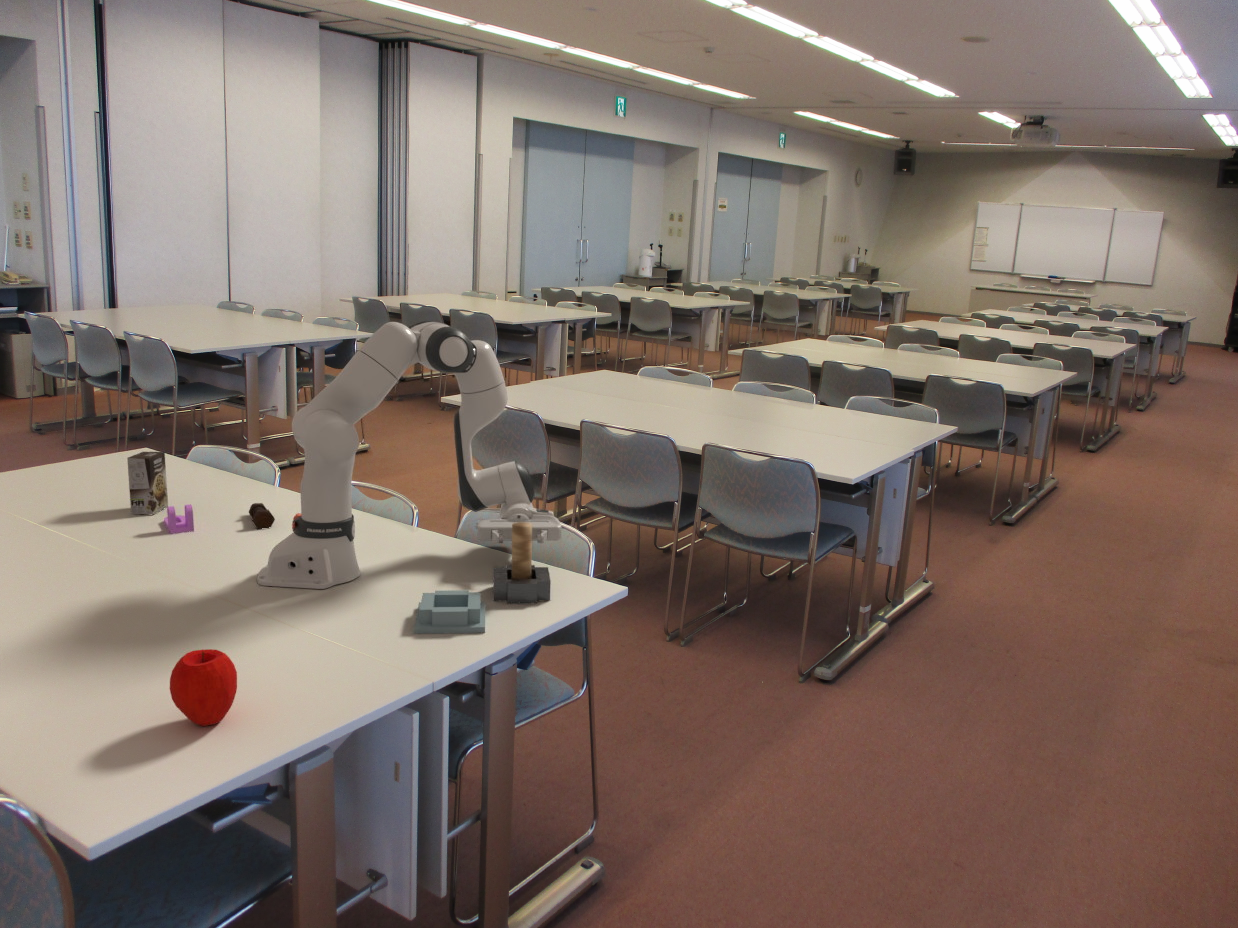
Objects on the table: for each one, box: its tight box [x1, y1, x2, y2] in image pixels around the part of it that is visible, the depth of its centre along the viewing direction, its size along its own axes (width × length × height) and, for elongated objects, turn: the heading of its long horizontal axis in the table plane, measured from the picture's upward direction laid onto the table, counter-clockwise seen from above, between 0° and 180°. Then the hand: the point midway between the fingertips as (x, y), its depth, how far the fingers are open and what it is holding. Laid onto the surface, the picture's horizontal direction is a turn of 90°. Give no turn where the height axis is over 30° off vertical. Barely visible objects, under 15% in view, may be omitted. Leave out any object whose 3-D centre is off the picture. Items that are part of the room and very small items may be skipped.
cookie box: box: [127, 451, 169, 516], centre depth 262 cm, size 9×6×16 cm
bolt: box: [248, 502, 276, 530], centre depth 258 cm, size 6×5×15 cm
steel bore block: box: [492, 564, 552, 605], centre depth 212 cm, size 12×12×4 cm
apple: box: [169, 648, 238, 727], centre depth 150 cm, size 10×10×12 cm
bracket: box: [163, 503, 195, 535], centre depth 250 cm, size 13×6×7 cm, turn 34°
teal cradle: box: [413, 589, 486, 635], centre depth 195 cm, size 14×14×4 cm
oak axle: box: [511, 522, 533, 579], centre depth 210 cm, size 4×4×16 cm
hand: (520, 540), depth 219 cm, fingers open, 8 cm apart
